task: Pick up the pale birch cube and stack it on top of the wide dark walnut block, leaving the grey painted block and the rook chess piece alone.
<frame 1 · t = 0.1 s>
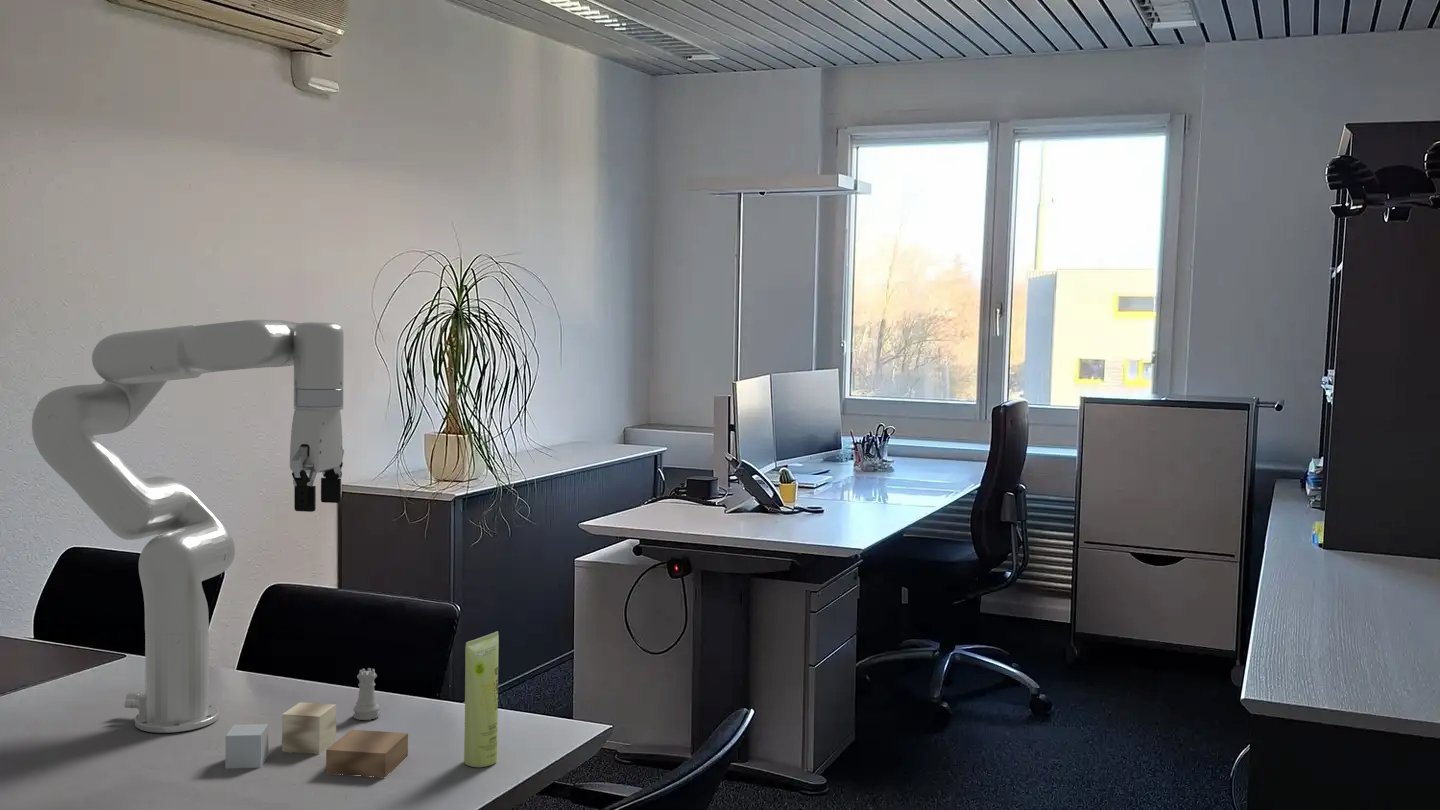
hand: (318, 506, 193), 37 cm above the table, tool pointing down, fingers open, 9 cm apart
grey block: (247, 762, 180), on the table
walnut block: (367, 767, 180), on the table
rook chess piece: (366, 718, 202), on the table
tube: (479, 764, 183), on the table
birch block: (309, 746, 188), on the table
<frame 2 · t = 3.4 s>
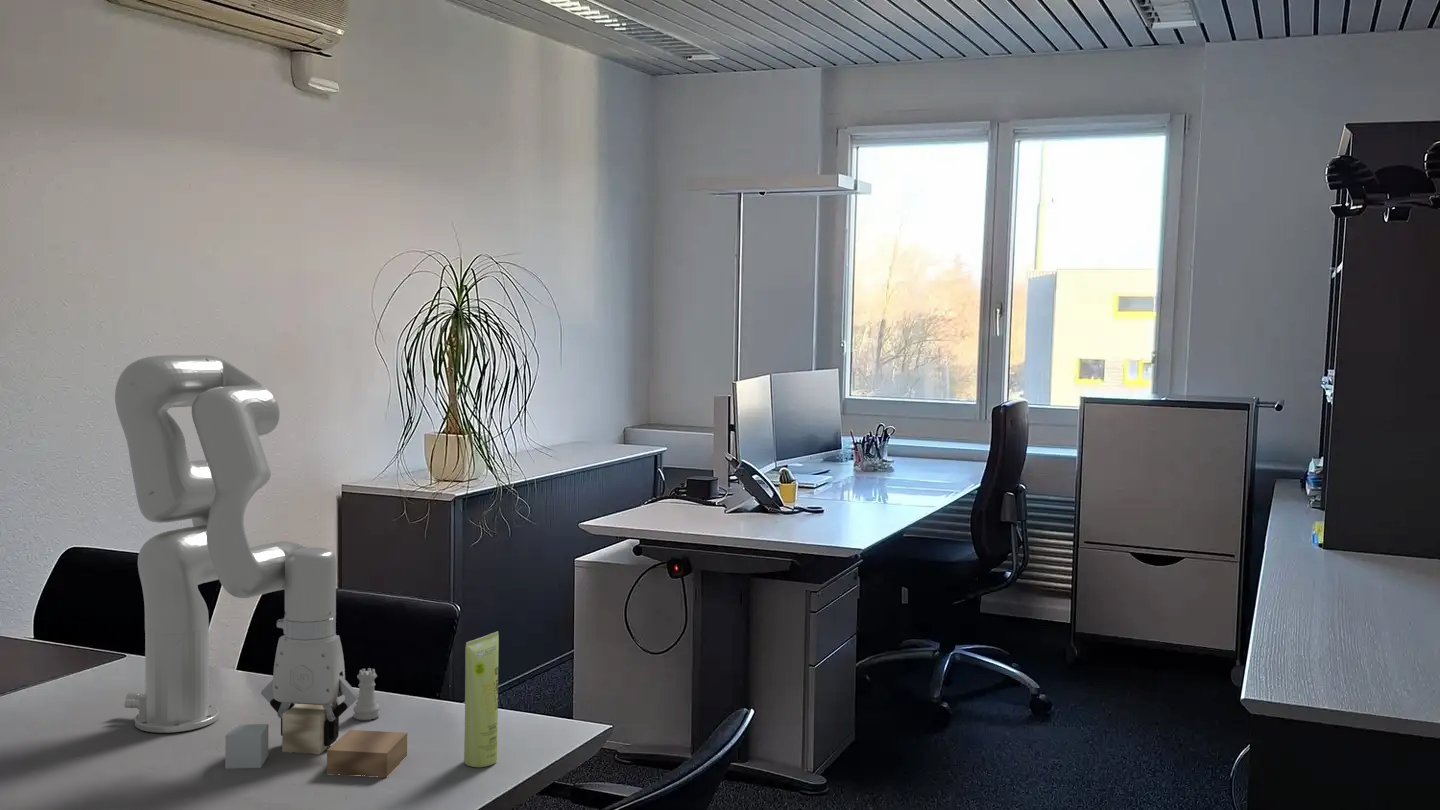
hand: (309, 740, 188), 1 cm above the table, tool pointing down, fingers closed on birch block, 6 cm apart
birch block: (309, 746, 188), on the table, touching gripper
everything else where it was.
when the fingers open (5 cm above the table, at t = 8.1 s): birch block drops 1 cm, point 4 cm above the table.
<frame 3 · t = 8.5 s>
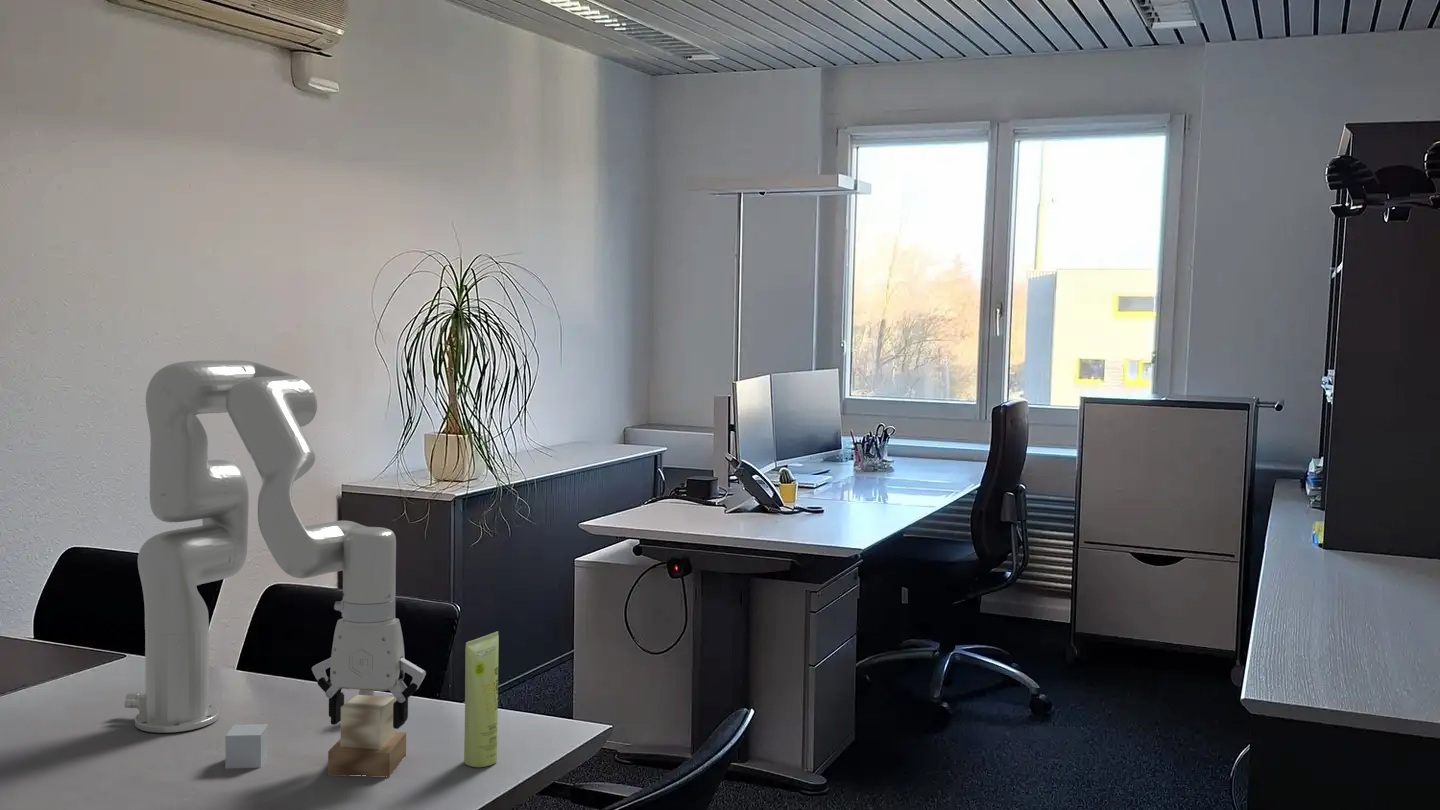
hand: (368, 723, 180), 6 cm above the table, tool pointing down, fingers open, 9 cm apart
birch block: (368, 741, 180), point 4 cm above the table
everything else where it was.
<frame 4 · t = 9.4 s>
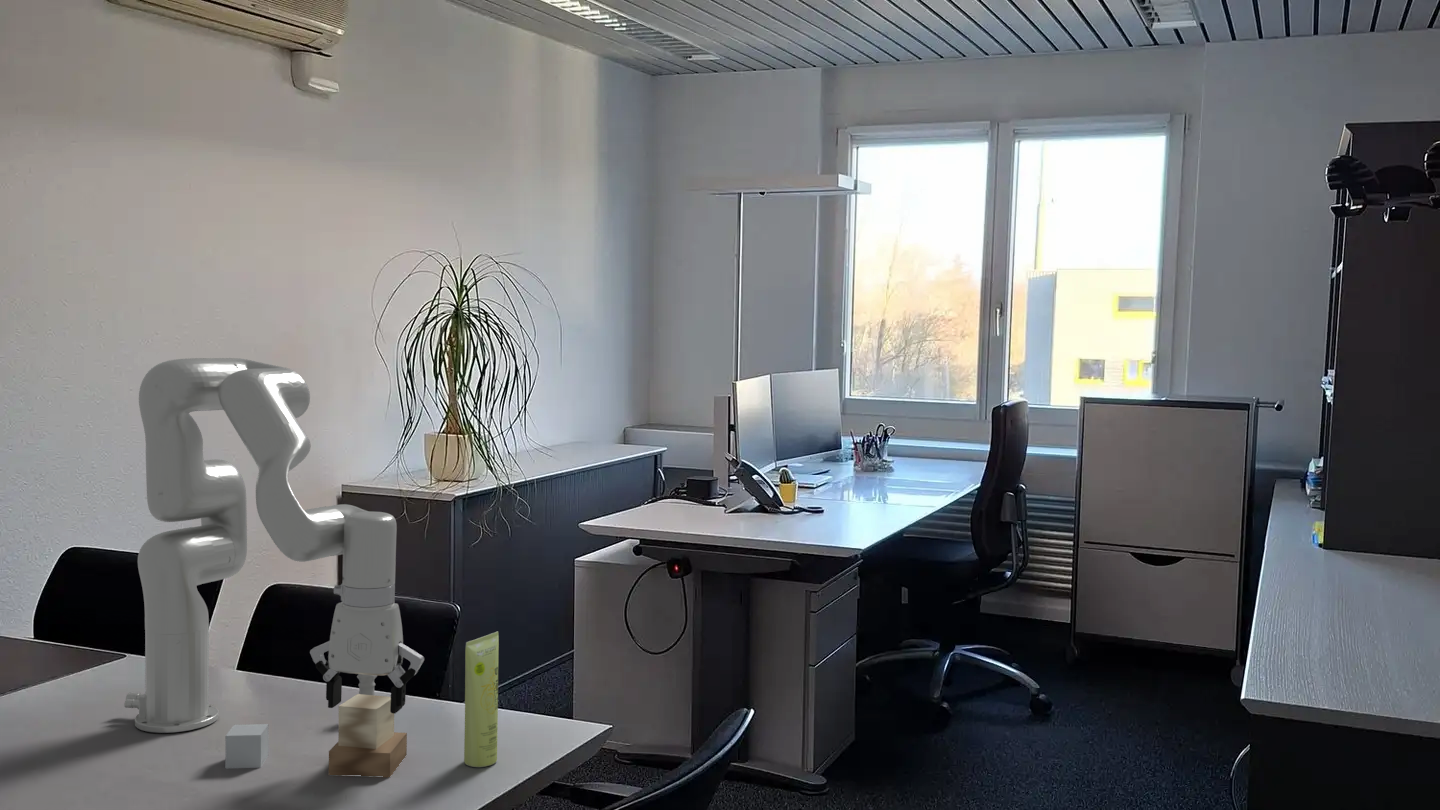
hand: (365, 707, 180), 9 cm above the table, tool pointing down, fingers open, 9 cm apart
nothing on the table moved.
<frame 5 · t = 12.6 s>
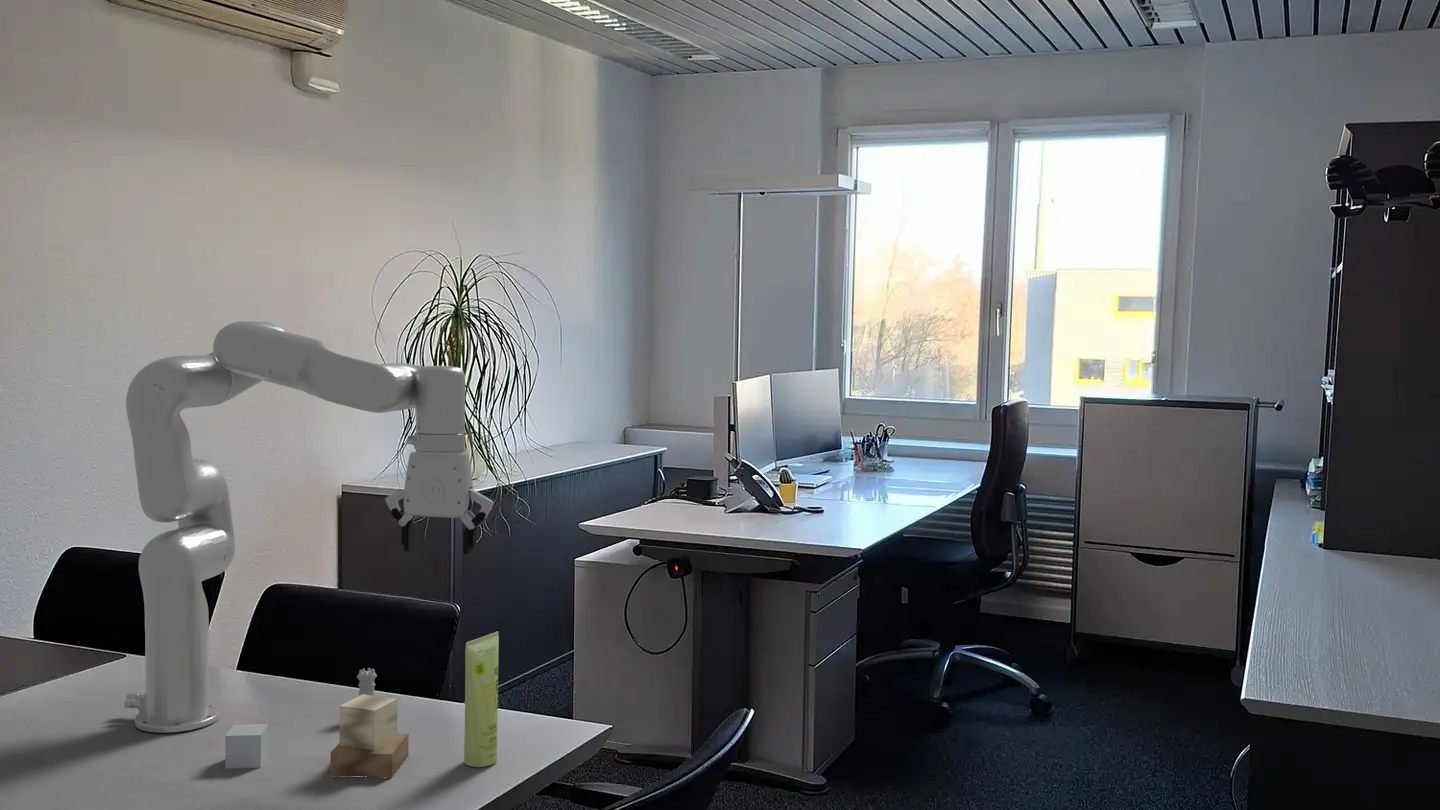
hand: (438, 551, 191), 30 cm above the table, tool pointing down, fingers open, 9 cm apart
walnut block: (370, 768, 180), on the table, touching birch block
birch block: (368, 741, 180), point 4 cm above the table, touching walnut block
everything else where it was.
at the end: birch block 0.6 cm off-centre on the walnut block, point 4.0 cm above the walnut block's base; birch block tilted 0°; the gripper is holding nothing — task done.
